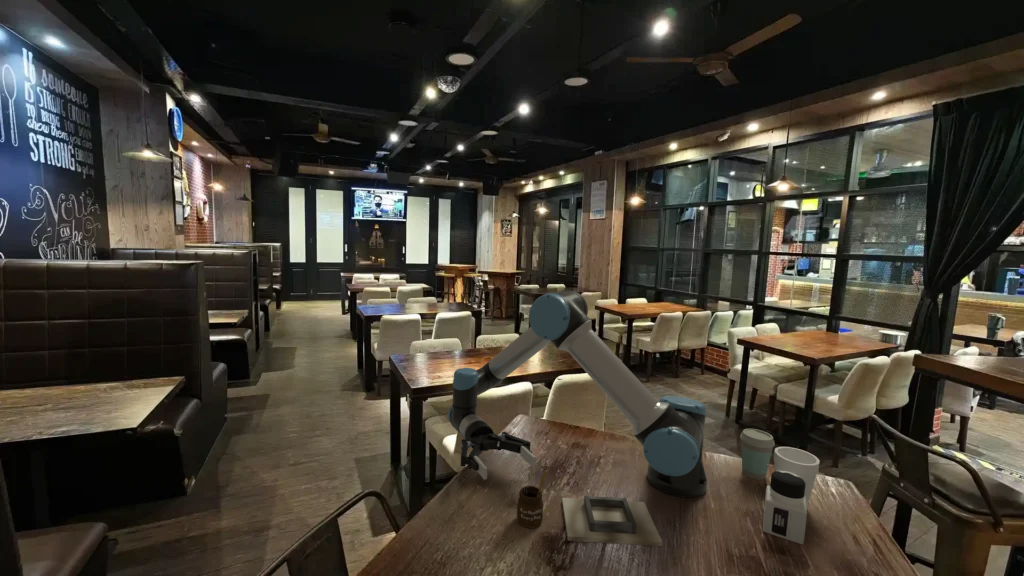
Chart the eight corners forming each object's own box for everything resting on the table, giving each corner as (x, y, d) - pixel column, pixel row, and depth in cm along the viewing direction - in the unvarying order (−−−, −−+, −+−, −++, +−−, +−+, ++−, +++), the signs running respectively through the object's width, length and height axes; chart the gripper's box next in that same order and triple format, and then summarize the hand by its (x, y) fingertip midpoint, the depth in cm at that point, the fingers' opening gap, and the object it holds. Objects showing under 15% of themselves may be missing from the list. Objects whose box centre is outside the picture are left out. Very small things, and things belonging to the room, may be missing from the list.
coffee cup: (776, 484, 117) (780, 442, 116) (742, 480, 118) (746, 438, 117) (764, 468, 125) (768, 429, 124) (732, 464, 127) (736, 426, 126)
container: (803, 545, 93) (810, 489, 91) (762, 532, 97) (768, 477, 95) (802, 526, 99) (808, 473, 98) (763, 514, 103) (769, 463, 102)
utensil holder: (514, 513, 100) (516, 464, 99) (541, 512, 101) (543, 463, 100) (518, 529, 94) (520, 478, 93) (546, 528, 95) (548, 477, 94)
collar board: (643, 505, 105) (644, 494, 105) (661, 546, 91) (662, 532, 91) (562, 501, 105) (562, 490, 105) (567, 540, 92) (568, 527, 91)
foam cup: (809, 500, 110) (815, 452, 109) (817, 520, 102) (824, 469, 100) (767, 490, 114) (772, 443, 113) (771, 509, 106) (777, 459, 104)
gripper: (513, 437, 130) (552, 471, 112) (434, 453, 119) (463, 494, 100) (514, 413, 130) (553, 444, 111) (435, 427, 118) (464, 463, 99)
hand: (510, 468), depth 105 cm, fingers open, 13 cm apart
